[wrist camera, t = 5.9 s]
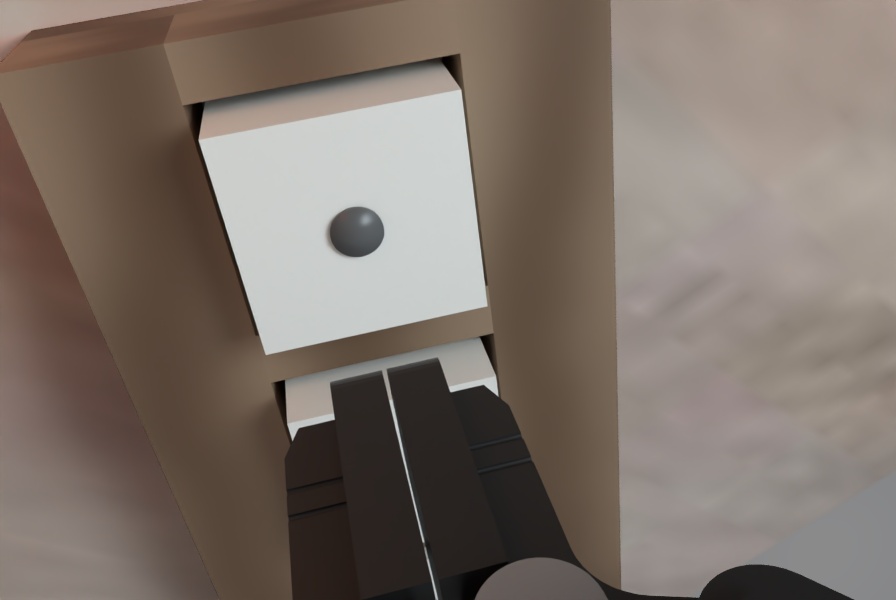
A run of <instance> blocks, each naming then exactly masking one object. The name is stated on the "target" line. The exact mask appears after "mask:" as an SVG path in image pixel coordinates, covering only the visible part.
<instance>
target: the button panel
mask: <svg viewBox="0 0 896 600" xmlns="http://www.w3.org/2000/svg"><path fill="white" fill-rule="evenodd" d="M438 57H439V59H440V60H441V62H442V63H443V65H444V66H445V67H446V69H447V70H448V72H449V73H450V74H451V76H452V77H453V79H454V80H455V81H456V83H457V84H458V86H459V87H460V88H461V92H462V100H463V108H464V117H465V125H466V133H467V141H468V150H469V158H470V166H471V174H472V183H473V191H474V199H475V207H476V215H477V224H478V232H479V240H480V248H481V257H482V265H483V273H484V281H485V290H486V298H487V306H486V307H482V308H477V309H473V310H468V311H464V312H459V313H455V314H450V315H446V316H441V317H436V318H432V319H427V320H423V321H418V322H414V323H409V324H405V325H400V326H396V327H391V328H387V329H382V330H377V331H373V332H368V333H364V334H359V335H355V336H350V337H346V338H341V339H337V340H332V341H328V342H323V343H318V344H314V345H309V346H305V347H300V348H296V349H291V350H287V351H282V352H278V353H273V354H269V355H266V354H265V351H264V348H263V345H262V342H261V338H260V335H259V332H258V329H257V326H256V322H255V319H254V316H253V313H252V310H251V306H250V303H249V300H248V297H247V294H246V290H245V287H244V284H243V281H242V278H241V274H240V271H239V268H238V265H237V262H236V258H235V255H234V252H233V249H232V246H231V242H230V239H229V236H228V233H227V230H226V226H225V223H224V220H223V217H222V213H221V210H220V207H219V204H218V201H217V197H216V194H215V191H214V188H213V185H212V181H211V178H210V175H209V172H208V169H207V165H206V162H205V159H204V156H203V153H202V149H201V146H200V143H199V134H200V129H201V123H202V117H203V111H204V106H205V101H209V100H214V99H220V98H225V97H230V96H236V95H241V94H246V93H252V92H257V91H262V90H268V89H273V88H278V87H284V86H289V85H294V84H300V83H305V82H310V81H316V80H321V79H326V78H331V77H337V76H342V75H347V74H353V73H358V72H363V71H369V70H374V69H379V68H385V67H390V66H395V65H401V64H406V63H411V62H417V61H422V60H427V59H433V58H438ZM0 104H1V106H2V108H3V110H4V113H5V115H6V117H7V119H8V122H9V124H10V126H11V129H12V131H13V133H14V135H15V138H16V140H17V142H18V144H19V147H20V149H21V151H22V153H23V156H24V158H25V160H26V162H27V165H28V167H29V169H30V172H31V174H32V176H33V178H34V181H35V183H36V185H37V187H38V190H39V192H40V194H41V196H42V199H43V201H44V203H45V206H46V208H47V210H48V212H49V215H50V217H51V219H52V221H53V224H54V226H55V228H56V230H57V233H58V235H59V237H60V239H61V242H62V244H63V246H64V249H65V251H66V253H67V255H68V258H69V260H70V262H71V264H72V267H73V269H74V271H75V273H76V276H77V278H78V280H79V282H80V285H81V287H82V289H83V292H84V294H85V296H86V298H87V301H88V303H89V305H90V307H91V310H92V312H93V314H94V316H95V319H96V321H97V323H98V326H99V328H100V330H101V332H102V335H103V337H104V339H105V341H106V344H107V346H108V348H109V350H110V353H111V355H112V357H113V359H114V362H115V364H116V366H117V369H118V371H119V373H120V375H121V378H122V380H123V382H124V384H125V387H126V389H127V391H128V393H129V396H130V398H131V400H132V403H133V405H134V407H135V409H136V412H137V414H138V416H139V418H140V421H141V423H142V425H143V427H144V430H145V432H146V434H147V436H148V439H149V441H150V443H151V446H152V448H153V450H154V452H155V455H156V457H157V459H158V461H159V464H160V466H161V468H162V470H163V473H164V475H165V477H166V480H167V482H168V484H169V486H170V489H171V491H172V493H173V495H174V498H175V500H176V502H177V504H178V507H179V509H180V511H181V513H182V516H183V518H184V520H185V523H186V525H187V527H188V529H189V532H190V534H191V536H192V538H193V541H194V543H195V545H196V547H197V550H198V552H199V554H200V556H201V559H202V561H203V563H204V566H205V568H206V570H207V572H208V575H209V577H210V579H211V581H212V584H213V586H214V588H215V590H216V593H217V595H218V597H219V600H293V599H292V582H291V564H290V547H289V530H288V522H289V519H288V512H287V491H286V478H285V460H284V458H285V456H286V454H287V452H288V450H289V448H290V446H291V443H292V438H291V434H290V431H289V428H288V425H287V409H286V389H285V380H286V379H290V378H295V377H299V376H304V375H308V374H313V373H317V372H322V371H326V370H331V369H335V368H340V367H344V366H349V365H353V364H357V363H362V362H366V361H371V360H375V359H380V358H384V357H389V356H393V355H398V354H402V353H407V352H411V351H416V350H420V349H425V348H429V347H433V346H438V345H442V344H447V343H451V342H456V341H460V340H465V339H469V338H474V337H478V336H480V339H481V341H482V343H483V346H484V348H485V351H486V353H487V356H488V358H489V360H490V363H491V365H492V368H493V370H494V372H495V375H496V380H497V388H498V397H500V398H501V399H502V400H503V401H505V402H506V403H507V404H508V405H509V406H510V409H511V411H512V413H513V415H514V418H515V420H516V422H517V425H518V427H519V429H520V432H521V435H522V439H524V441H525V443H526V445H527V448H528V450H529V452H530V455H531V459H532V462H534V464H535V466H536V469H537V471H538V473H539V476H540V478H541V480H542V482H543V485H544V487H545V489H546V492H547V494H548V496H549V499H550V501H551V503H552V506H553V508H554V510H555V512H556V515H557V517H558V519H559V522H560V524H561V526H562V529H563V531H564V533H565V536H566V538H567V540H568V543H569V545H570V547H571V549H572V551H573V553H574V555H575V557H576V558H577V559H578V561H579V562H580V563H581V565H582V566H583V567H584V568H585V569H586V570H587V571H588V572H590V573H591V574H592V575H593V576H595V577H596V578H597V579H599V580H600V581H602V582H604V583H606V584H608V585H610V586H612V587H614V588H617V589H619V590H621V561H620V505H619V450H618V395H617V340H616V285H615V230H614V175H613V120H612V65H611V9H610V0H204V1H198V2H193V3H187V4H181V5H175V6H170V7H164V8H158V9H153V10H147V11H141V12H136V13H130V14H124V15H119V16H113V17H107V18H101V19H96V20H90V21H84V22H79V23H73V24H67V25H62V26H56V27H50V28H45V29H39V30H33V31H31V32H30V33H29V34H28V35H27V36H26V37H25V38H24V40H23V41H22V42H21V43H20V44H19V45H18V46H17V47H16V48H15V49H14V50H13V51H12V52H11V53H10V54H9V55H8V56H7V57H6V58H5V59H4V60H3V61H2V62H1V63H0ZM423 546H424V547H425V543H424V542H423Z"/></svg>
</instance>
